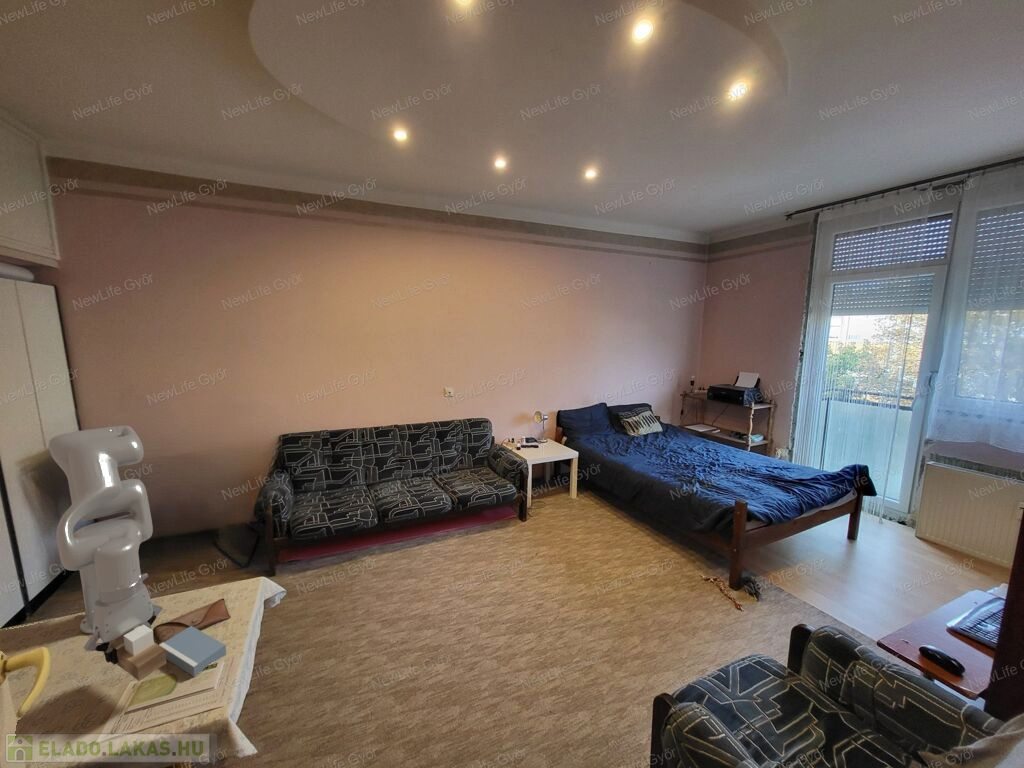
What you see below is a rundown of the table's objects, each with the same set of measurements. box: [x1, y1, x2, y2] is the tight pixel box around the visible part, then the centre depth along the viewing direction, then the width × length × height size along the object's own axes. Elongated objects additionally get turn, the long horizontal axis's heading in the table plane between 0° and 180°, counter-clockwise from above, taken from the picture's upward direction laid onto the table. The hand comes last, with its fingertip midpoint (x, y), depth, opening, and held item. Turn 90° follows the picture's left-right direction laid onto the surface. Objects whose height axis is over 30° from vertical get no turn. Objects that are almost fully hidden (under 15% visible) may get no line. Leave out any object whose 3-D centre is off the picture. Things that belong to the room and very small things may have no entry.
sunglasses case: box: [152, 597, 232, 645], centre depth 122 cm, size 18×7×7 cm, turn 140°
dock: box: [159, 626, 227, 677], centre depth 111 cm, size 16×8×3 cm, turn 67°
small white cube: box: [124, 625, 155, 656], centre depth 98 cm, size 4×4×4 cm
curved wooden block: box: [103, 628, 167, 682], centre depth 99 cm, size 16×6×4 cm, turn 67°
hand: (128, 651), depth 101 cm, fingers closed on curved wooden block, 5 cm apart
